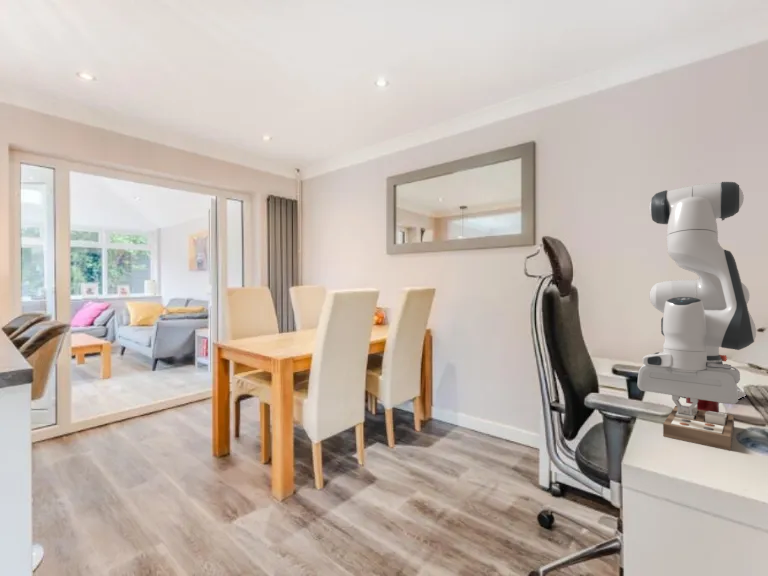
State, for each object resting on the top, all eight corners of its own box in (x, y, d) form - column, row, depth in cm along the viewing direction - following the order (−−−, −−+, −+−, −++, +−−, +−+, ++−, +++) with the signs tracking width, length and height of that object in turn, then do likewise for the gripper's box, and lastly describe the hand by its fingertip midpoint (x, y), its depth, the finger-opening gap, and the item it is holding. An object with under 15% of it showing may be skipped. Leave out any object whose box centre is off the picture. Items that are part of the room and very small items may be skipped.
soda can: (726, 416, 106) (725, 373, 106) (704, 417, 104) (703, 374, 105) (700, 408, 113) (699, 368, 113) (679, 409, 112) (679, 369, 112)
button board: (675, 416, 106) (675, 404, 106) (734, 427, 97) (733, 414, 97) (663, 436, 91) (663, 422, 91) (730, 450, 83) (730, 435, 83)
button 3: (706, 420, 96) (706, 411, 96) (725, 424, 93) (725, 414, 93) (705, 424, 93) (704, 414, 93) (724, 428, 90) (724, 417, 90)
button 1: (677, 420, 100) (677, 410, 100) (695, 423, 97) (695, 413, 97) (675, 423, 97) (675, 414, 97) (693, 427, 95) (693, 417, 95)
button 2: (680, 411, 104) (680, 401, 104) (697, 414, 101) (697, 404, 101) (678, 414, 101) (678, 404, 101) (696, 417, 98) (695, 407, 98)
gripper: (740, 363, 92) (741, 420, 92) (640, 354, 107) (641, 403, 106) (739, 367, 88) (740, 427, 88) (635, 357, 102) (636, 408, 102)
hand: (685, 414), depth 97 cm, fingers closed, pressing on button 1
